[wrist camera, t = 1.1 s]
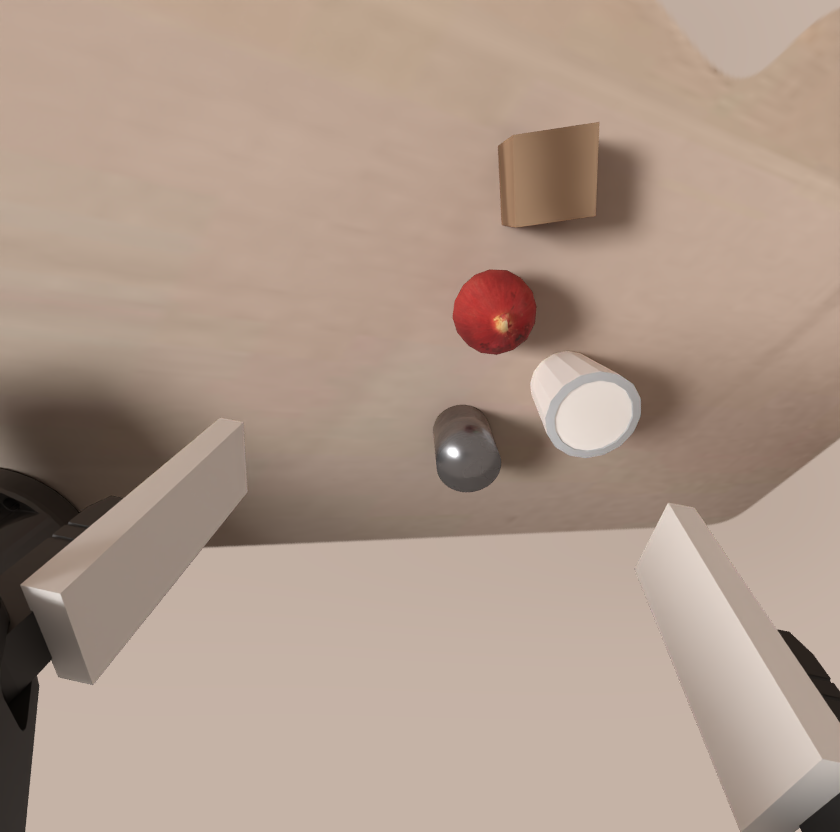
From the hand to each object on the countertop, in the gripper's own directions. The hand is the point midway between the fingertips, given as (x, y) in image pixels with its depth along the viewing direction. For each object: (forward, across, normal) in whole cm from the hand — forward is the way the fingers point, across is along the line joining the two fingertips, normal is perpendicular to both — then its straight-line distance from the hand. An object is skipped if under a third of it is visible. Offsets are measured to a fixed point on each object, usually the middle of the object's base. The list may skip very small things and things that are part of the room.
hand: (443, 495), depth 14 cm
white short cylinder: (+25, -9, +5) cm, 27 cm away
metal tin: (+24, -1, +10) cm, 26 cm away
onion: (+24, -1, -1) cm, 24 cm away
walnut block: (+25, -3, -10) cm, 27 cm away
